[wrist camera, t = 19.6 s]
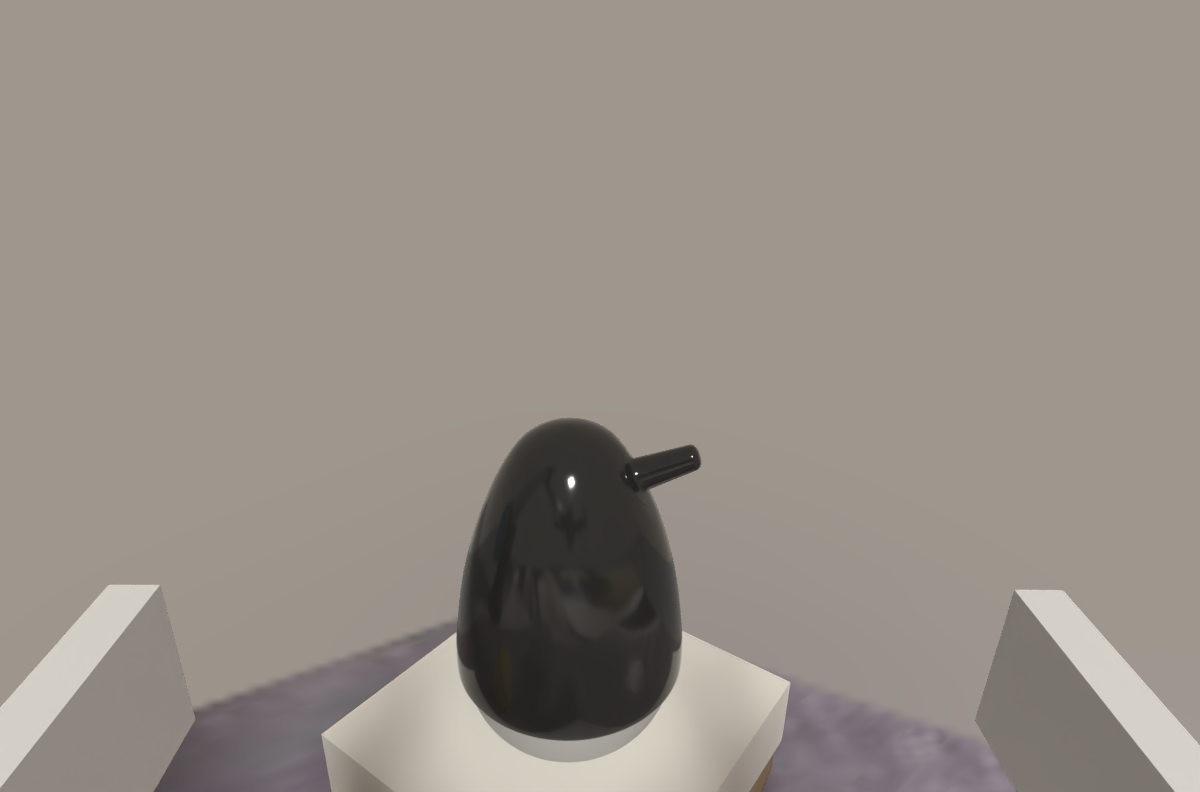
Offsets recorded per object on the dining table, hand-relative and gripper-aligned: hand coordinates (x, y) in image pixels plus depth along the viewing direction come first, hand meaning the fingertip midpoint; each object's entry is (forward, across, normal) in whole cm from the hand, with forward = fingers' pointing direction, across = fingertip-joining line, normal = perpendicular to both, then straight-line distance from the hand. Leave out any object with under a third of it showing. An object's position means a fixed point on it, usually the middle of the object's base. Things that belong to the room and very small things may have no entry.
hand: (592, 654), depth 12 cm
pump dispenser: (+18, 0, -20) cm, 27 cm away
